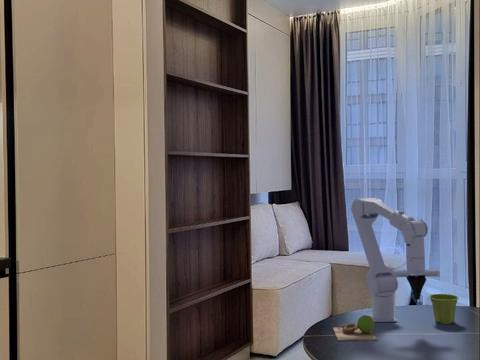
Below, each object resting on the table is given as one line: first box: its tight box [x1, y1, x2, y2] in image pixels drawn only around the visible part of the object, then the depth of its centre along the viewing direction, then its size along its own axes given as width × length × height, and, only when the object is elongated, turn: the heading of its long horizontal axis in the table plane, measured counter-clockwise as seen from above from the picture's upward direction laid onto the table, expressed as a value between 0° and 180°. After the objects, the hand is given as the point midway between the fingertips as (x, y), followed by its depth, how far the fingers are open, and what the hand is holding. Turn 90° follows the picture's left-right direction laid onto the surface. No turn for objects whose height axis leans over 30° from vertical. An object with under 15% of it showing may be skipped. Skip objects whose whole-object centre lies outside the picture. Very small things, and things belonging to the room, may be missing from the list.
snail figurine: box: [337, 315, 376, 333], centre depth 167 cm, size 5×6×12 cm
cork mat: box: [332, 326, 378, 342], centre depth 166 cm, size 14×12×1 cm
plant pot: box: [429, 293, 459, 325], centre depth 178 cm, size 9×9×9 cm
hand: (416, 299), depth 168 cm, fingers closed
